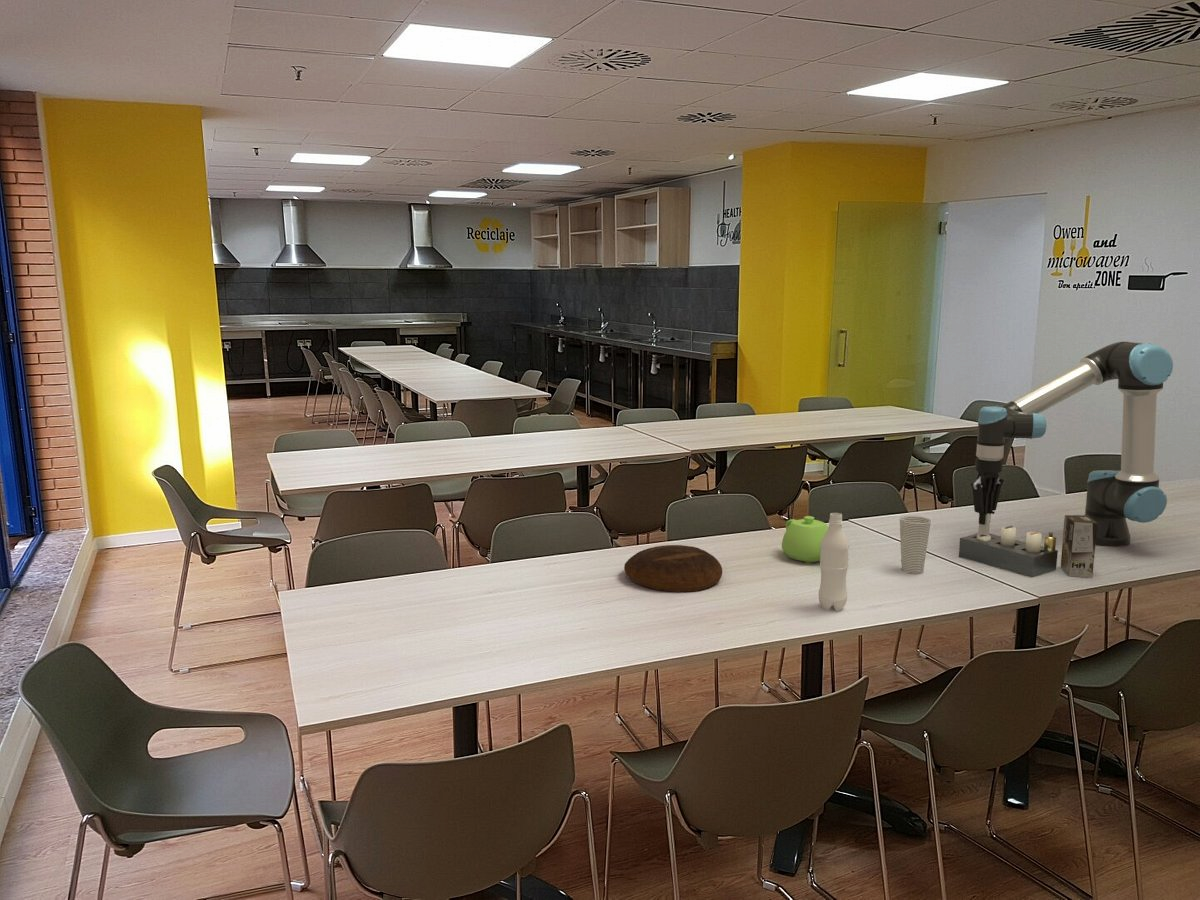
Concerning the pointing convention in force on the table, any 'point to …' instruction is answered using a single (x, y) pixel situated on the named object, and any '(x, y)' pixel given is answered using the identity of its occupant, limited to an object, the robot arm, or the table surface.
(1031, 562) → the mount
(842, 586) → the water bottle
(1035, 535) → the knob
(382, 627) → the table surface
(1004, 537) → the knob
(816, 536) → the teapot
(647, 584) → the bread
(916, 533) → the cup
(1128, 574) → the table surface
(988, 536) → the knob
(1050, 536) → the pepper mill
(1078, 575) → the coffee box
